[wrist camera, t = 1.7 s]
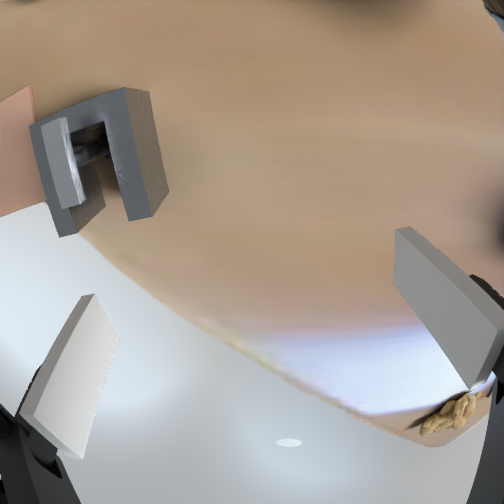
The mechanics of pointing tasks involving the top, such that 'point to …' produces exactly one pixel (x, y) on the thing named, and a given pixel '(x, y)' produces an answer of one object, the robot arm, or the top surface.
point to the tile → (18, 154)
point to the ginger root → (451, 415)
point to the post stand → (70, 160)
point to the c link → (123, 155)
